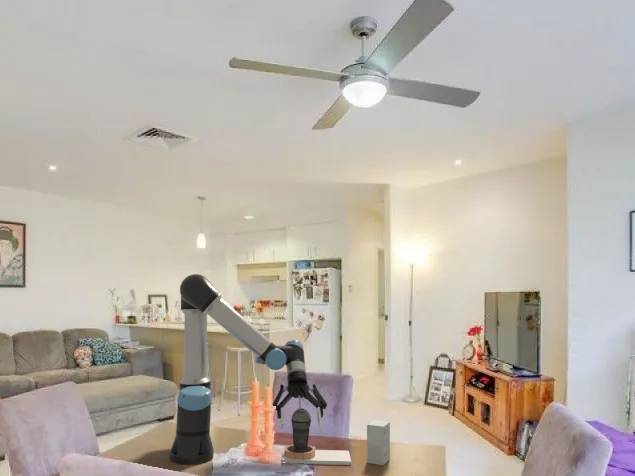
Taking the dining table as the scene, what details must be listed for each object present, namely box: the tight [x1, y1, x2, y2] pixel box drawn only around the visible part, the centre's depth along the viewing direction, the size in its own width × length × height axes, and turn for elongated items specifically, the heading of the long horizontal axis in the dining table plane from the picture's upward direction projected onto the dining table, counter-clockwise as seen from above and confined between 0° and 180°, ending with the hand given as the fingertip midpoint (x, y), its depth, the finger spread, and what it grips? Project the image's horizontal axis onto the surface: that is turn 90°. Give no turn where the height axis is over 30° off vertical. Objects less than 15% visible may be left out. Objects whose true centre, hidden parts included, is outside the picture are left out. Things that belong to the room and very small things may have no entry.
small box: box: [366, 419, 391, 466], centre depth 173 cm, size 8×6×13 cm
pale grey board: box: [281, 449, 352, 466], centre depth 173 cm, size 24×12×1 cm, turn 90°
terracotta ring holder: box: [283, 444, 316, 460], centre depth 173 cm, size 11×11×2 cm
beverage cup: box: [290, 396, 312, 453], centre depth 175 cm, size 7×7×20 cm
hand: (301, 425), depth 172 cm, fingers open, 13 cm apart
